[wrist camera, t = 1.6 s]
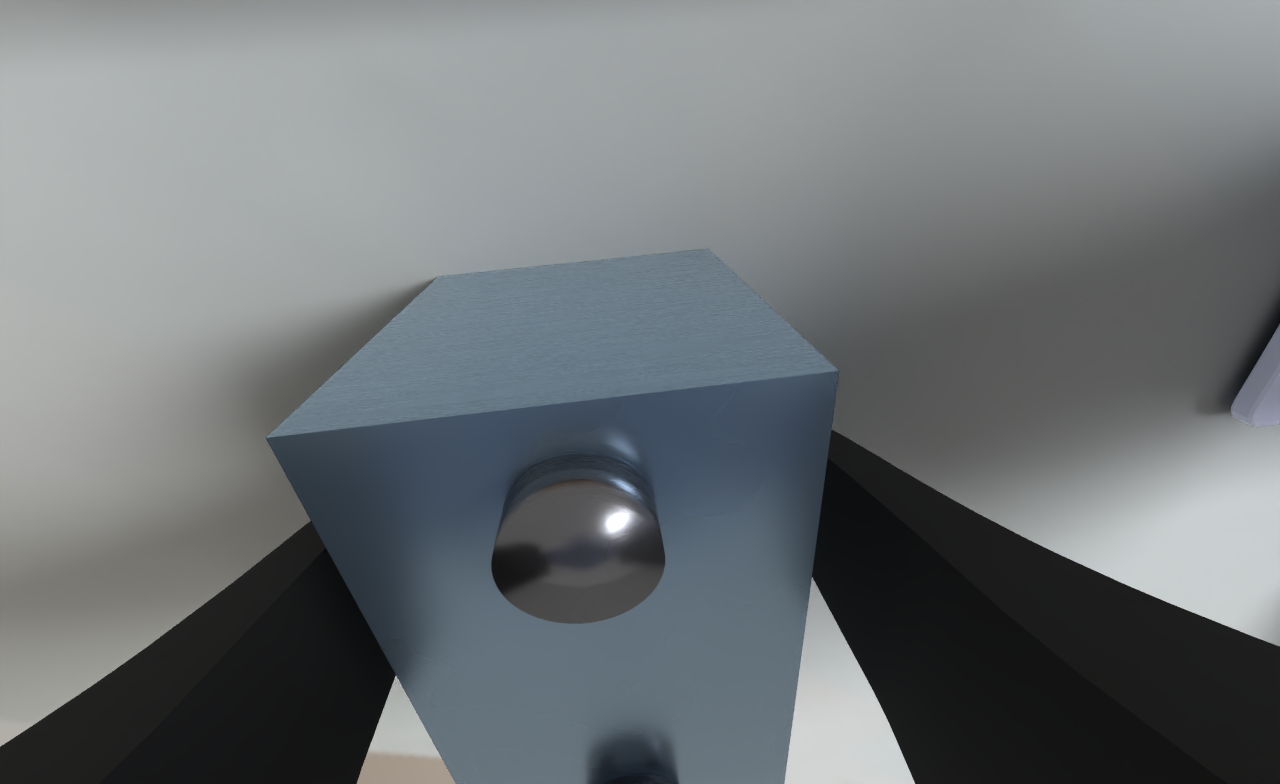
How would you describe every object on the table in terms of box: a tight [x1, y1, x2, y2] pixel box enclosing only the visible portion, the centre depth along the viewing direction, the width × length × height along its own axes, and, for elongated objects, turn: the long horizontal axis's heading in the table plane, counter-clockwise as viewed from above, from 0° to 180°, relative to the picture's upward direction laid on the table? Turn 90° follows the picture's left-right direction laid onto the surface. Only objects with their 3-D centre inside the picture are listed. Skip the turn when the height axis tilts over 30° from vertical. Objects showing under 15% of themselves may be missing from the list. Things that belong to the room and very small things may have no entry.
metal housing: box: [266, 249, 839, 784], centre depth 8 cm, size 5×8×6 cm, turn 5°
